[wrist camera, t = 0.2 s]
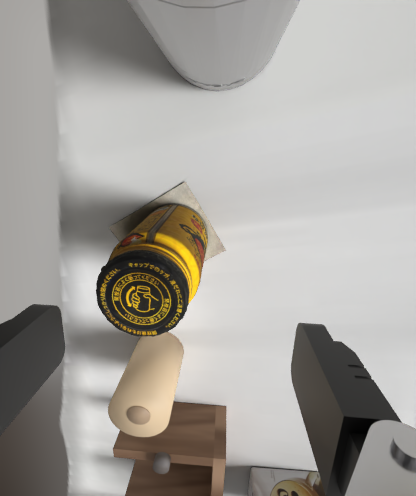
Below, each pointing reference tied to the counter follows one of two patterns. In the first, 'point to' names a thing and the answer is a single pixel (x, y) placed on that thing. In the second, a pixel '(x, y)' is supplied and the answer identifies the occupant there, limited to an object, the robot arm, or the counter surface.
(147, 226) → the condiment
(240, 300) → the counter surface
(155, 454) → the holder
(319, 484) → the coffee box
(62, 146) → the counter surface
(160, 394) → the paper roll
